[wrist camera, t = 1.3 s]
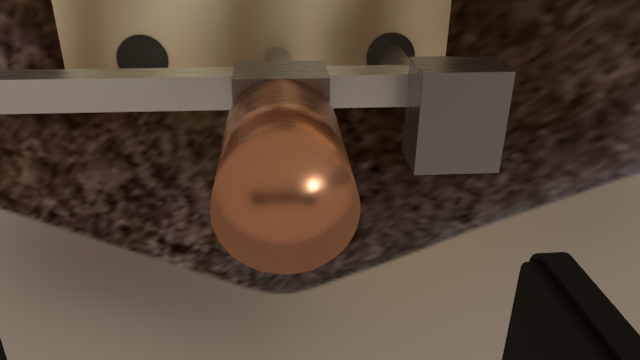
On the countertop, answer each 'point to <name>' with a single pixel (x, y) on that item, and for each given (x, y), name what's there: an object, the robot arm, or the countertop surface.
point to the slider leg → (283, 169)
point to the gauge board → (244, 31)
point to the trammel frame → (345, 92)
